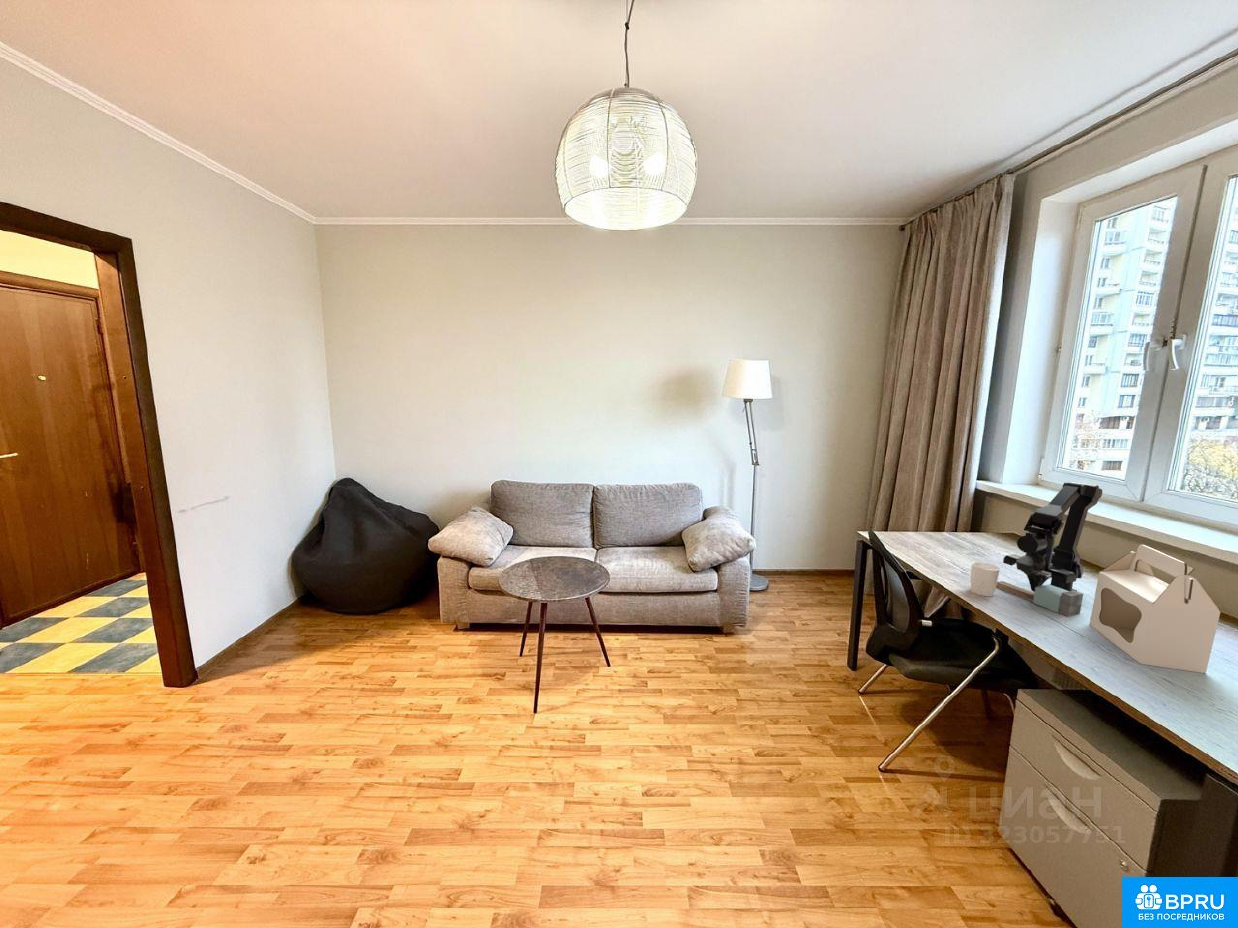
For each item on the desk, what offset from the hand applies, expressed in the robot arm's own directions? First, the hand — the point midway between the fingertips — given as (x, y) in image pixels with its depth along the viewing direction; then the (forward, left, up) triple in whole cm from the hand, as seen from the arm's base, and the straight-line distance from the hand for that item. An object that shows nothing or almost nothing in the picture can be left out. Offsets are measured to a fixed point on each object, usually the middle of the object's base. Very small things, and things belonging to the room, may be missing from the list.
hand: (1034, 591), depth 161 cm
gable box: (+4, +30, -3) cm, 30 cm away
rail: (0, 0, -3) cm, 3 cm away
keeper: (0, +6, -3) cm, 6 cm away
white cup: (+11, -9, -3) cm, 15 cm away
